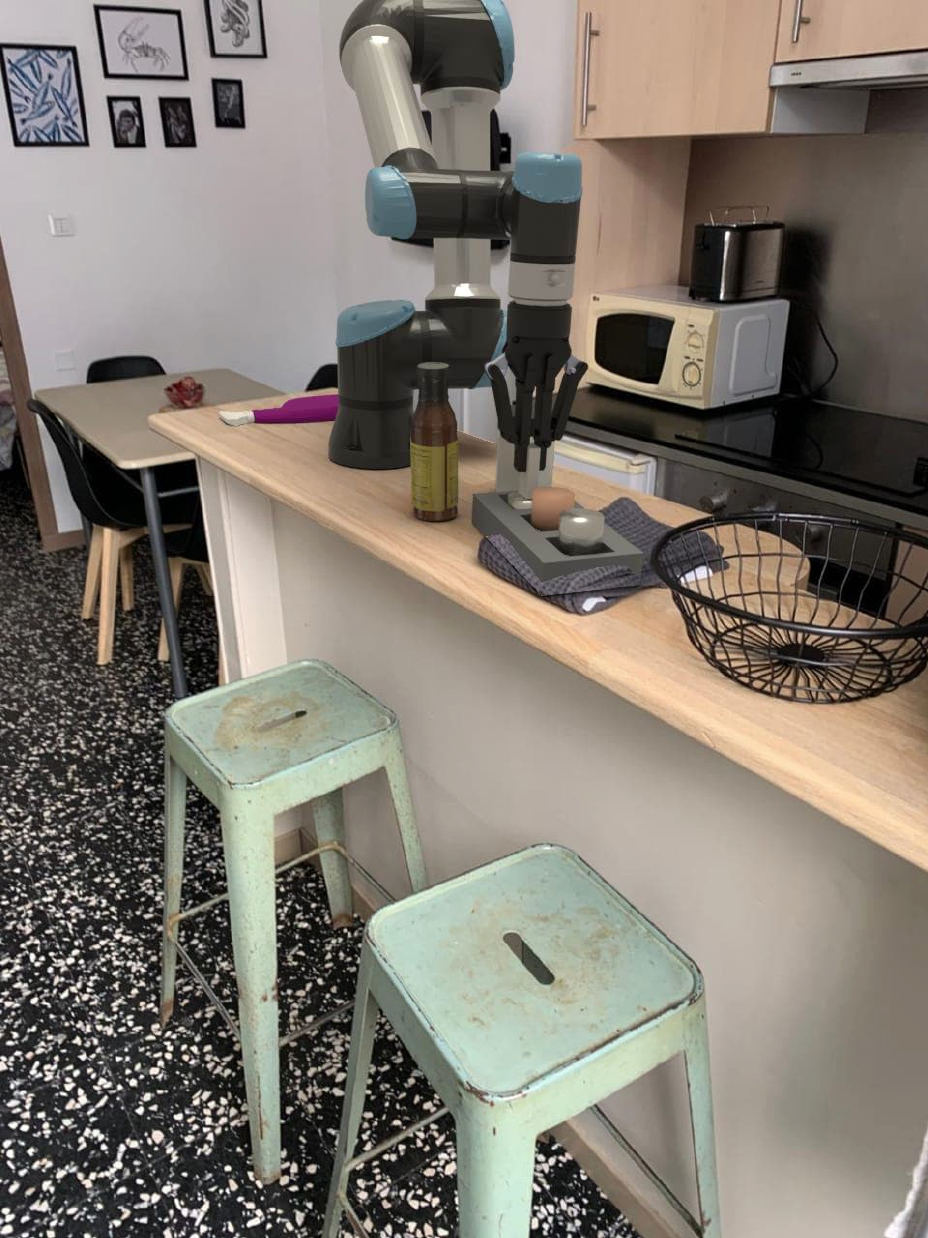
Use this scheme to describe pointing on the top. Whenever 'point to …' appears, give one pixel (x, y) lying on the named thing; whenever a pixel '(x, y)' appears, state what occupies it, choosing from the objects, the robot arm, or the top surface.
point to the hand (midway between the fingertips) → (527, 495)
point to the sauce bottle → (434, 447)
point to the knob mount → (547, 540)
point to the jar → (505, 462)
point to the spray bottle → (289, 412)
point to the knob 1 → (518, 501)
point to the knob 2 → (580, 532)
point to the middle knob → (550, 507)
